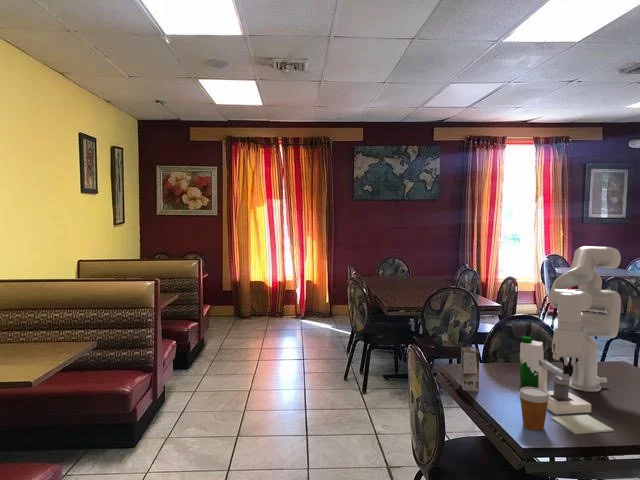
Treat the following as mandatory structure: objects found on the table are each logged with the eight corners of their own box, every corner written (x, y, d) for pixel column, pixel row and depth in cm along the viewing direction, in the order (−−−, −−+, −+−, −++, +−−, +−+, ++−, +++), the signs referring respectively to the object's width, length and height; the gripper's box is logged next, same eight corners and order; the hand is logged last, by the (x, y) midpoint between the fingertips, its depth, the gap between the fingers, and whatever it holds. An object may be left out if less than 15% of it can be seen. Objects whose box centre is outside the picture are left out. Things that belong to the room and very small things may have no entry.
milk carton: (521, 379, 202) (522, 334, 201) (544, 383, 197) (545, 337, 196) (518, 385, 195) (518, 338, 194) (541, 389, 190) (542, 341, 189)
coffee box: (479, 392, 187) (479, 352, 186) (462, 390, 188) (463, 351, 187) (476, 384, 196) (476, 346, 195) (460, 383, 197) (461, 346, 196)
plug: (562, 402, 176) (563, 375, 176) (573, 408, 170) (573, 380, 170) (548, 403, 175) (549, 376, 175) (558, 409, 169) (559, 381, 169)
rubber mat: (587, 416, 163) (587, 414, 163) (613, 431, 151) (613, 429, 151) (551, 418, 161) (551, 416, 161) (574, 434, 149) (575, 432, 149)
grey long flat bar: (537, 363, 185) (537, 359, 185) (545, 363, 185) (545, 359, 185) (561, 378, 166) (561, 374, 166) (570, 378, 166) (570, 374, 166)
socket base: (554, 391, 187) (554, 362, 187) (591, 412, 167) (591, 379, 166) (522, 393, 185) (523, 364, 185) (555, 414, 165) (556, 381, 164)
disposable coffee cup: (512, 421, 159) (513, 386, 159) (539, 420, 160) (539, 386, 160) (527, 433, 150) (528, 397, 149) (555, 432, 150) (556, 396, 150)
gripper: (585, 324, 172) (584, 373, 173) (544, 323, 174) (543, 371, 175) (595, 329, 165) (594, 379, 165) (551, 327, 167) (550, 377, 167)
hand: (567, 375), depth 170 cm, fingers closed
